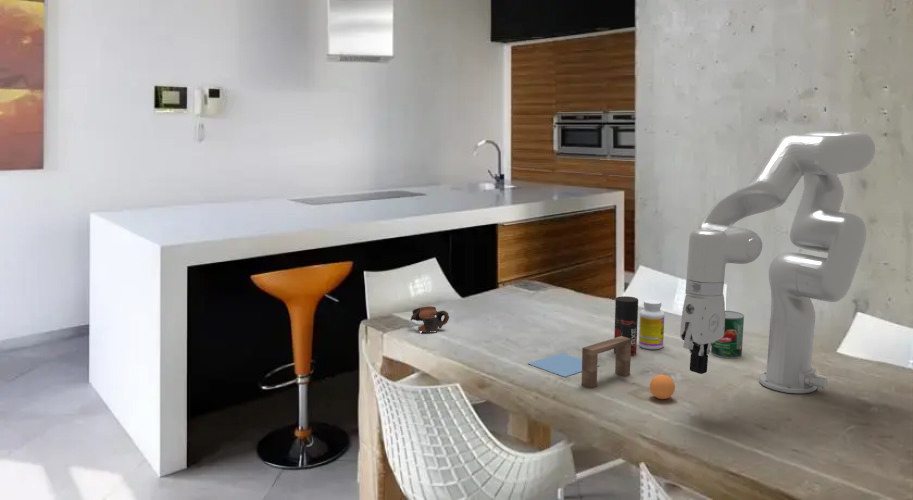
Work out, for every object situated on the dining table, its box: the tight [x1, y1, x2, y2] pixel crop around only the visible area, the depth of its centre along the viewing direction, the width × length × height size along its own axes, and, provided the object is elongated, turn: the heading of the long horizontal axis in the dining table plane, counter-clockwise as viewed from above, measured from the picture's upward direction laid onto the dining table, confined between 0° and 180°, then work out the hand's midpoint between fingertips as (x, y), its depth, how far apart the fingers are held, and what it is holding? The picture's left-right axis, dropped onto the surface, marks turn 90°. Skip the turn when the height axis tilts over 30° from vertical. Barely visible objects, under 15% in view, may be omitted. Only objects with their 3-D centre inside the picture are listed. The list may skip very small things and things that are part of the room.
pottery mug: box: [410, 305, 450, 333], centre depth 223 cm, size 12×10×8 cm
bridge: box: [581, 336, 632, 389], centre depth 178 cm, size 3×14×9 cm, turn 129°
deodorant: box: [613, 296, 639, 357], centre depth 198 cm, size 6×6×15 cm
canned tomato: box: [710, 310, 745, 359], centre depth 197 cm, size 8×8×11 cm
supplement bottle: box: [638, 299, 665, 350], centre depth 203 cm, size 7×7×13 cm
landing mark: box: [527, 352, 600, 378], centre depth 190 cm, size 13×13×1 cm
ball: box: [649, 374, 676, 400], centre depth 166 cm, size 6×6×6 cm
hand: (698, 371), depth 158 cm, fingers closed
